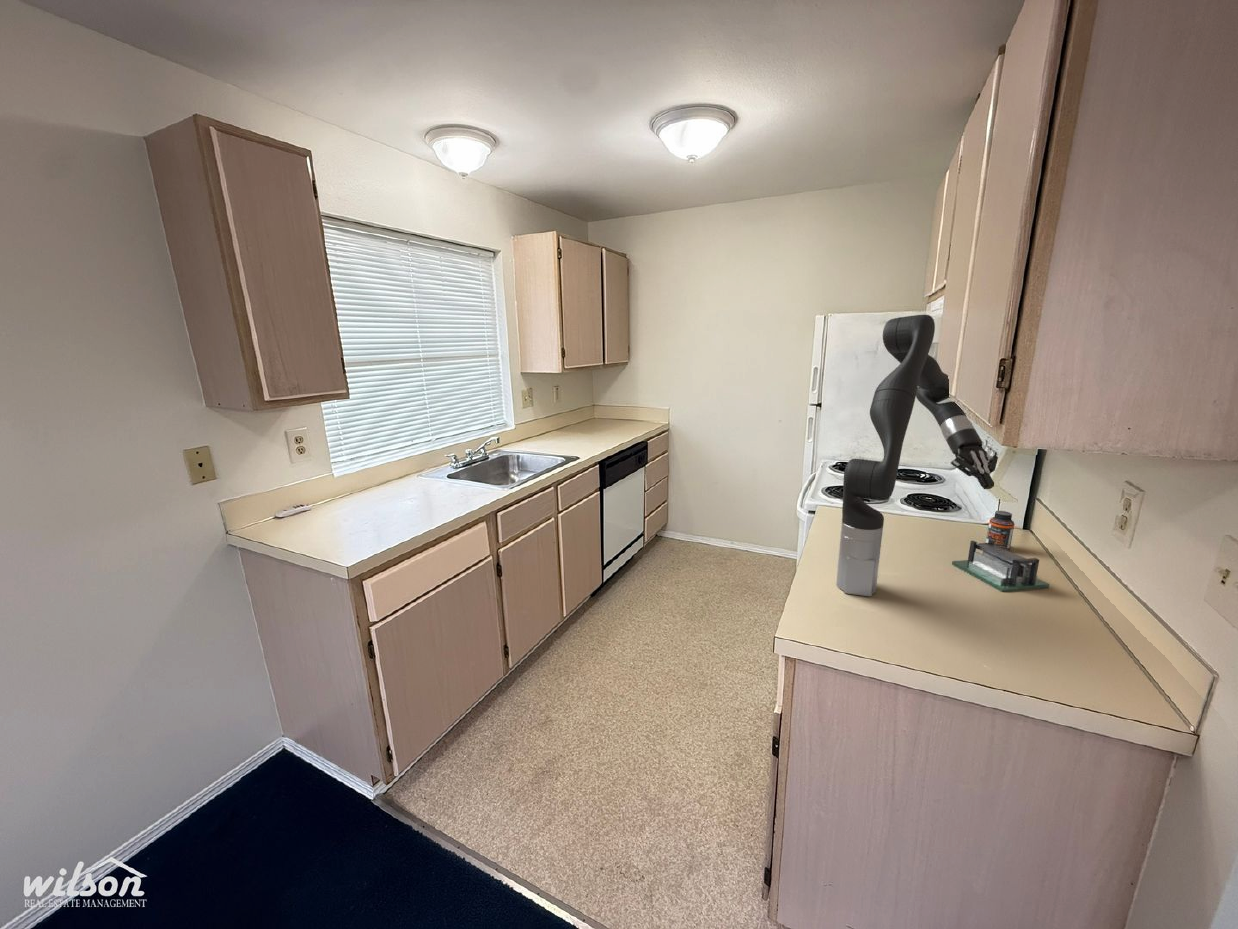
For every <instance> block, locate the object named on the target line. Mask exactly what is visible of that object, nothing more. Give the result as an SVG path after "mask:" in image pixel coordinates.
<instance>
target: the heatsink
mask: <svg viewBox="0 0 1238 929" xmlns="http://www.w3.org/2000/svg"><path fill="white" fill-rule="evenodd" d="M977 543H978V541H976V540H970V543H969V544H970V545H969V550H968V551H969V552H968V556H967V559H965V560H963V559H962V560H952V562H951V565H952V566H954V567H956V568H957V569H959V570H961V571H963V570H964V571H963V572H964V573H966V572H967V574H968V573H969V575H970V576H972V577H974V578H976V579H977V578H978V580H979V579H980V581H981V582H983V583H985V584H987V585H988V584H989V587H993V589H996V590H998V591H1000V592H1001V593H1003V592H1014V591H1015V592H1016V591H1026V590H1027V589H1028V590H1036V589H1037V590H1038V589H1039V590H1040V589H1048V588H1049V586H1050V583H1047V582H1045V581H1043V580H1042V579H1039V578H1038V569H1039V566H1040V565H1039V564H1040V559H1038V558H1037V557H1032V558H1031V557H1029V558H1027V559H1016V560H1013V564H1012V563H1010V562H1008V561H1005V560H1003V559H1000V558H998V557H996V556H993V555H991V554H989V553H986V552H984V551H982V553H980V552H978V551H977V549H976V546H977ZM988 543H990V544H991V545H995V541H994V540H991V539H990V540H989V541H988ZM1028 563H1029V564H1028Z"/></svg>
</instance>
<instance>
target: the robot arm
mask: <svg viewBox="0 0 1238 929" xmlns="http://www.w3.org/2000/svg"><path fill="white" fill-rule="evenodd" d="M935 330H936V323H935V319H934V318H933V316H931V315H930V314H915V315H908V316H899V317H895V318H894V317H893V318H890V319H889V320H888V321H886V323H885V324H884V327H883V329H882V343H883V346H884V348H885V349H886V350H887V352H888V353H889V354H890V355H891V356H892V357H893V358H894V359H895V360H896V361H898V362H899V363H900V364H899V365H898V366H897V367H896V368H894V369H893V370H892V371H891V372H890V373H889V374H888V375H887V376H885V377H884V379H883V380H882V381H881V382H880V383H879V384H878V385H877V387H876V388H875V391H874V394H873V397H872V401H871V405H870V408H869V416H870V420H871V423H872V425H873V427H874V429H875V431H876V433H877V435H878V436H879V437H878V438H879V439H880V442H881V445H882V448H883V459H882V460H881V461H879V460H871V459H863V458H851V459H850V460H849V461H847V463H846V465H845V469H844V473H843V481H842V482H843V484H842V485H843V486H842V488H843V490H842V507H841V509H842V510H841V511H842V512H841V513H842V515H841V518H842V519H841V530H840V539H839V550H838V558H837V559H838V562H837V569H836V570H837V572H836V584H835V585H836V587H838V588H839V589H840V591H841V590H842V591H843V593H844V594H849V595H856V596H862V597H863V596H864V597H870V598H871V597H872V596H873V594H875V593H877V587H878V586H877V585H878V578H879V576H878V575H879V568H880V567H879V566H880V558H881V557H880V556H881V549H882V540H883V534H884V532H883V530H884V524H885V517H884V514H883V513H882V512H880V511H879V510H877V509H875V508H874V507H872V506H870V505H869V504H867V503H866V502H865V501H864V500H863V499H869V500H870V499H871V500H876V501H888V500H889V499H890V498H891V497H892V495H893V493H894V489H895V486H896V481H897V477H898V471H899V467H900V460H901V456H902V455H901V454H902V451H903V450H902V449H903V444H904V440H905V436H906V434H907V430H908V426H909V423H910V419H911V416H912V413H913V409H914V405H915V401H916V399H917V401H918V402H919V403H920V404H922V406H924V408H926V409H927V410H928V411H929V413H931V414H932V415H933V417H934V418H935V420H936V423H937V425H938V426H939V428H940V430H941V433H942V436H943V437H944V440H945V441H946V443H947V445H948V447H949V449H950V451H951V452H952V454H953V455H954V456H955V458H954V459H953V460H951V462H950V464H951V465H952V466H953V467H954V468H957V469H958V470H959V471H961V472H962V473H963V474H965V475H966V476H967V477H974V478H976V480H977V481H978V483H979V485H980V486H981V487H982V488H983V490H991V489H992V488H995V482H994V480H993V478H992V476H991V474H992V473H994V472H995V470H996V467H997V463H998V460H999V457H998V456H997V455H990V454H988V452H987V450H986V449H984V448H983V439H981V437H980V435H979V433H978V432H977V430H976V428H975V426H974V425H973V423H972V422H971V421H970V419H969V418H968V416H967V415H966V413H965V411H964V410H962V409H963V408H962V407H961V408H962V409H961V408H960V407H959V406H958V405H957V404H956V403H955V402H956V401H946V402H943V401H945V400H948V399H950V398H951V397H949V379H948V376H949V375H948V374H946V373H945V372H944V371H942V368H941V366H940V364H939V362H938V361H937V360H936V359H935V358H934V357H933V356H931V355H929V352H930V350H931V348H932V344H933V341H934V336H935V332H936V331H935ZM862 498H863V499H862Z"/></svg>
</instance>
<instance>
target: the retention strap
mask: <svg viewBox="0 0 1238 929" xmlns="http://www.w3.org/2000/svg"><path fill="white" fill-rule="evenodd" d="M976 550H979V551H982V552H983V551H984V552H986V553H989V554H991V555H993V556H996V557H998V558H1000V559H1003V560H1005V561H1008V562H1010V563H1012V564H1013V560H1016V559H1028V558H1027V557H1024V556H1021V555H1019V554H1016V553H1013V552H1011V551H1010V550H1009V551H1006V550H1004V549H1001V548H999V547H996V546H994V545H991V544H990V543H986V542H980V543H979V542H977V546H976ZM1028 564H1029V563H1028Z"/></svg>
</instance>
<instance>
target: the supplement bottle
mask: <svg viewBox="0 0 1238 929" xmlns="http://www.w3.org/2000/svg"><path fill="white" fill-rule="evenodd" d="M1012 517H1013V513H1011V512H1009V511H1006V510H996V511H995V512H994V515H993V517H991V518H989V522H988V525H987V526H988V528H987V533H986V538H985V543H988V541H989V540H990V539H991V540H994V541H995V545H994V546H996V547H999V548H1001V549H1004V550H1006V551H1009V552H1010V550H1011V546H1012V539H1013V534H1014V529H1015V521H1014V520H1013V518H1012Z"/></svg>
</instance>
